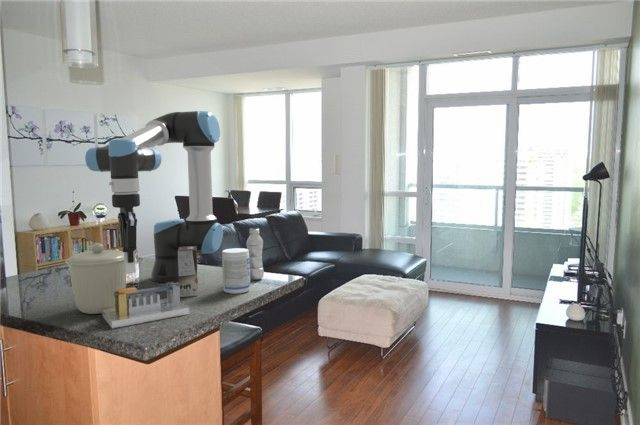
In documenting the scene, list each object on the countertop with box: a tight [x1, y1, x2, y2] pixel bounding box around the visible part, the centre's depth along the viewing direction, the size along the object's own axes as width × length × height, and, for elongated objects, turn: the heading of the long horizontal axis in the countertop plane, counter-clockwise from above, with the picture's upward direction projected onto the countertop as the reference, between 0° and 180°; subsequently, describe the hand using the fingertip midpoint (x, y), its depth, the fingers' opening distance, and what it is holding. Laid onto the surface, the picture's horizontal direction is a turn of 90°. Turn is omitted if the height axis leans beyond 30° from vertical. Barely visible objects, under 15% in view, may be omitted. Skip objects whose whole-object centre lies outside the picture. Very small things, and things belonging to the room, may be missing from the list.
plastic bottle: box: [246, 227, 265, 281], centre depth 189 cm, size 6×7×20 cm
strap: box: [114, 283, 176, 298], centre depth 147 cm, size 3×18×2 cm, turn 124°
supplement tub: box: [221, 247, 251, 295], centre depth 173 cm, size 10×10×15 cm
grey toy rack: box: [101, 282, 190, 329], centre depth 147 cm, size 14×22×8 cm, turn 124°
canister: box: [64, 242, 127, 315], centre depth 152 cm, size 18×18×21 cm
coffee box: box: [178, 246, 199, 298], centre depth 171 cm, size 9×6×16 cm
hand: (130, 272), depth 144 cm, fingers closed
